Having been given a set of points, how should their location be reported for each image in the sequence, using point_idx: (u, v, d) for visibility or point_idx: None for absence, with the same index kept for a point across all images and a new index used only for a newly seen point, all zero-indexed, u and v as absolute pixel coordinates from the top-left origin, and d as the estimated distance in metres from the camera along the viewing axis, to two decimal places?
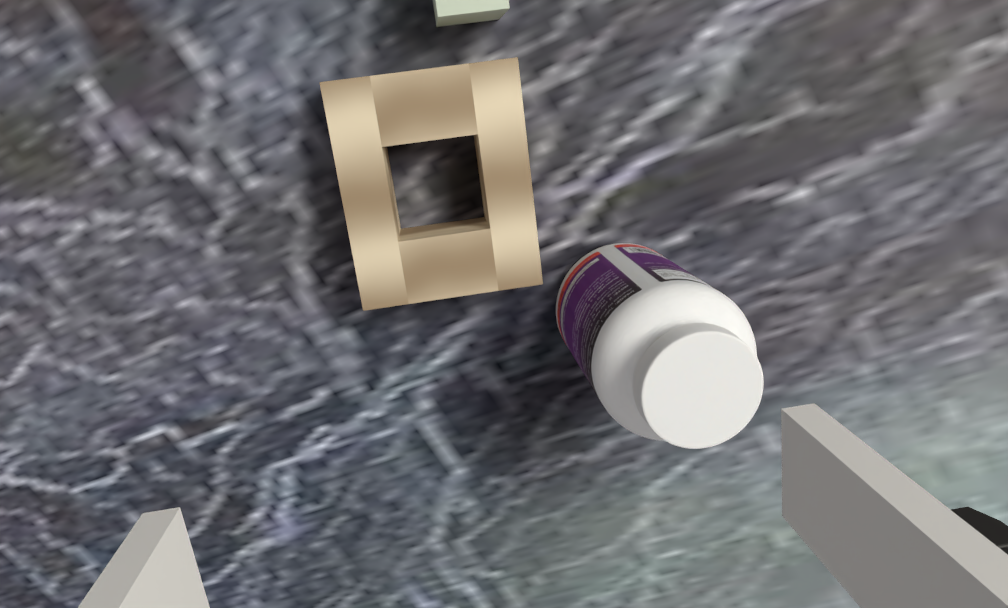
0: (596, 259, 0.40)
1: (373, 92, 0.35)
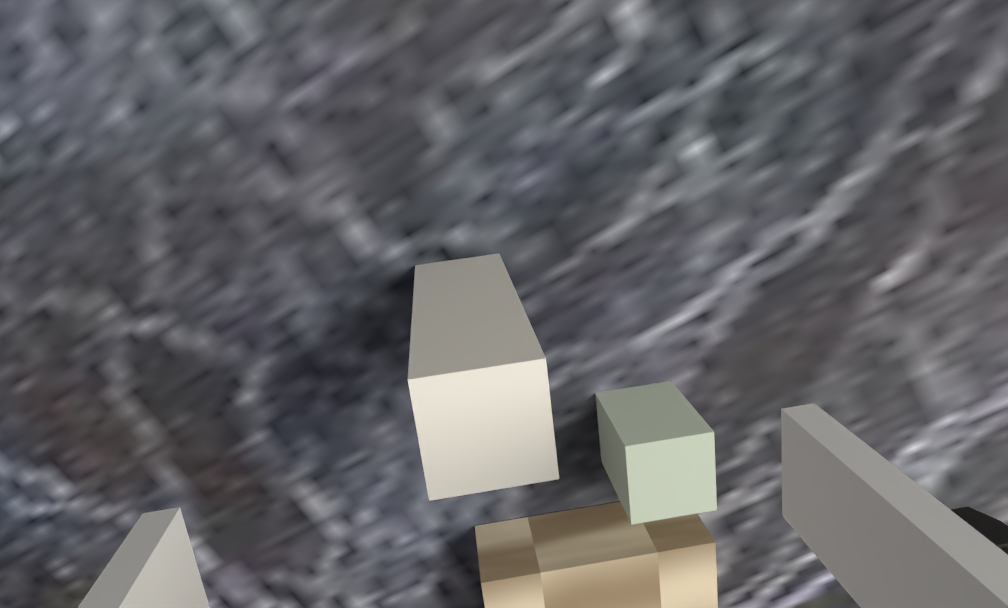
0: None
1: (543, 588, 0.29)
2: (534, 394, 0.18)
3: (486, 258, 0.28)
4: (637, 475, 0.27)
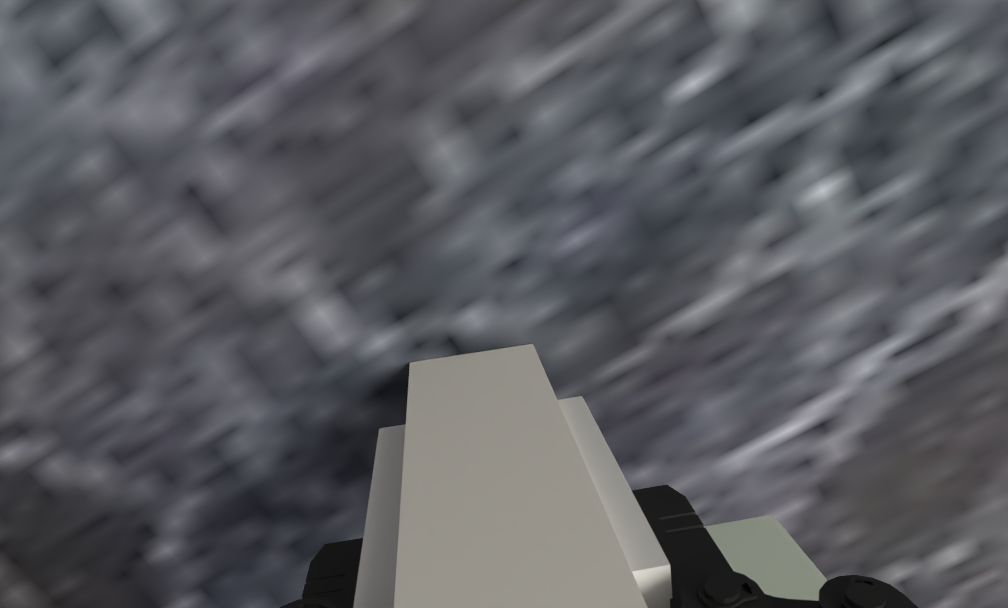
0: None
1: None
2: None
3: (515, 353, 0.19)
4: None
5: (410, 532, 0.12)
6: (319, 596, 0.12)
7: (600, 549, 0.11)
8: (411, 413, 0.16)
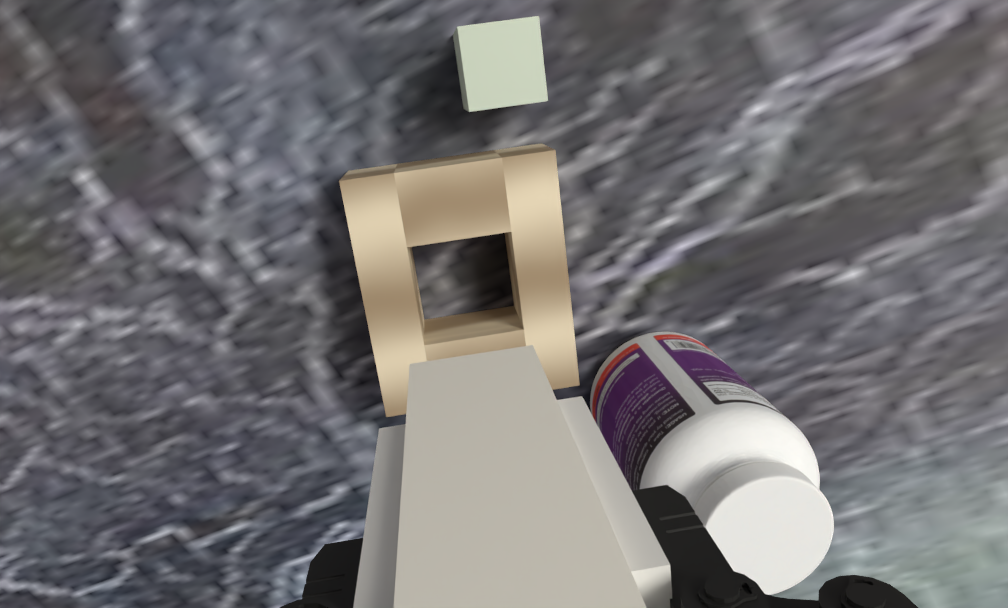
0: (636, 355, 0.37)
1: (397, 190, 0.32)
2: None
3: (515, 355, 0.19)
4: (471, 58, 0.30)
5: (410, 535, 0.12)
6: (319, 596, 0.12)
7: (600, 552, 0.11)
8: (411, 415, 0.16)
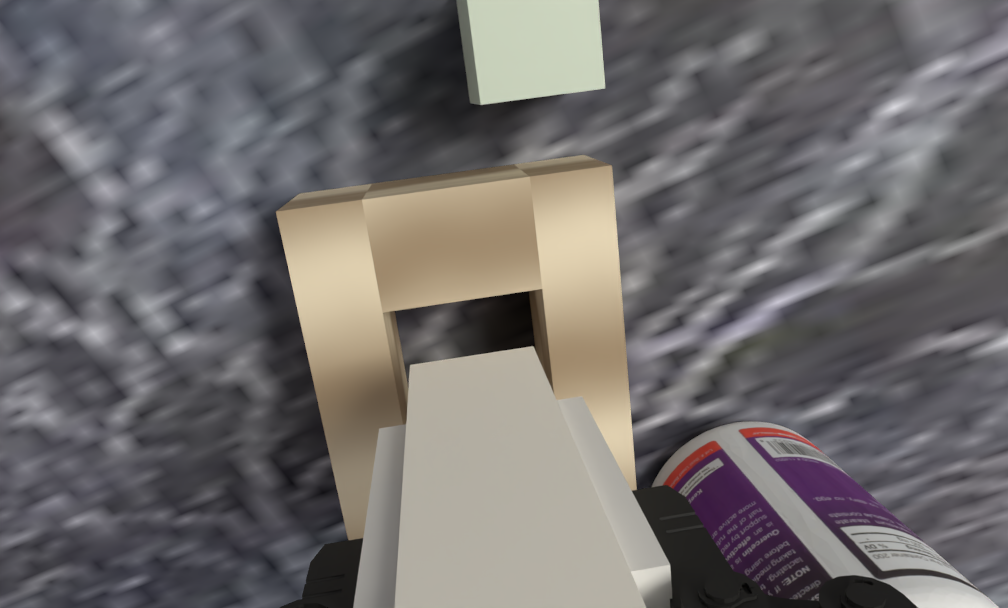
0: (718, 462, 0.26)
1: (368, 226, 0.21)
2: None
3: (515, 356, 0.19)
4: (484, 19, 0.19)
5: (410, 537, 0.12)
6: (319, 596, 0.12)
7: (601, 554, 0.11)
8: (411, 416, 0.16)
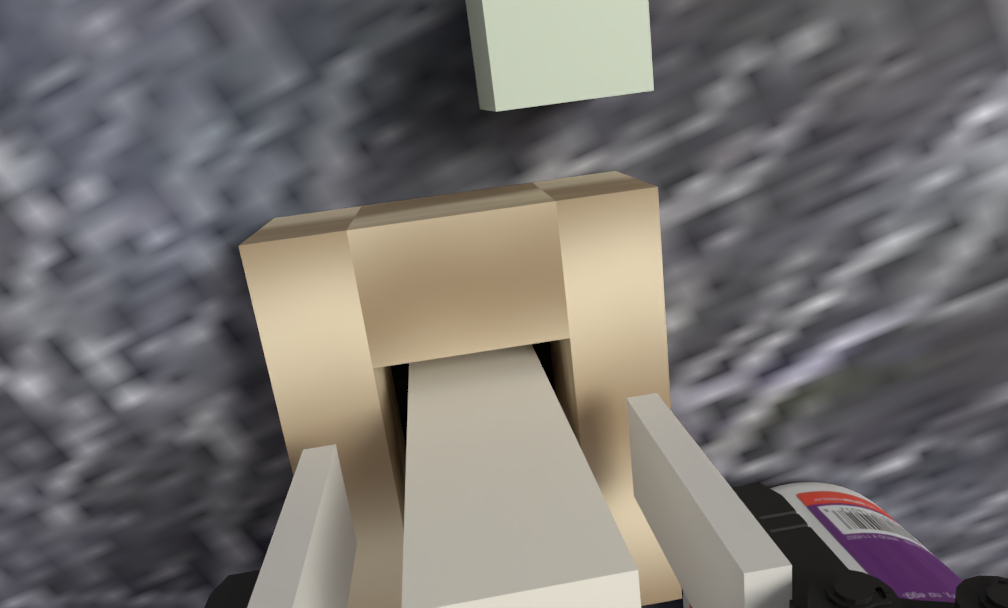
0: None
1: (354, 263, 0.17)
2: None
3: None
4: (501, 2, 0.15)
5: (415, 474, 0.14)
6: None
7: (578, 483, 0.13)
8: (413, 382, 0.18)
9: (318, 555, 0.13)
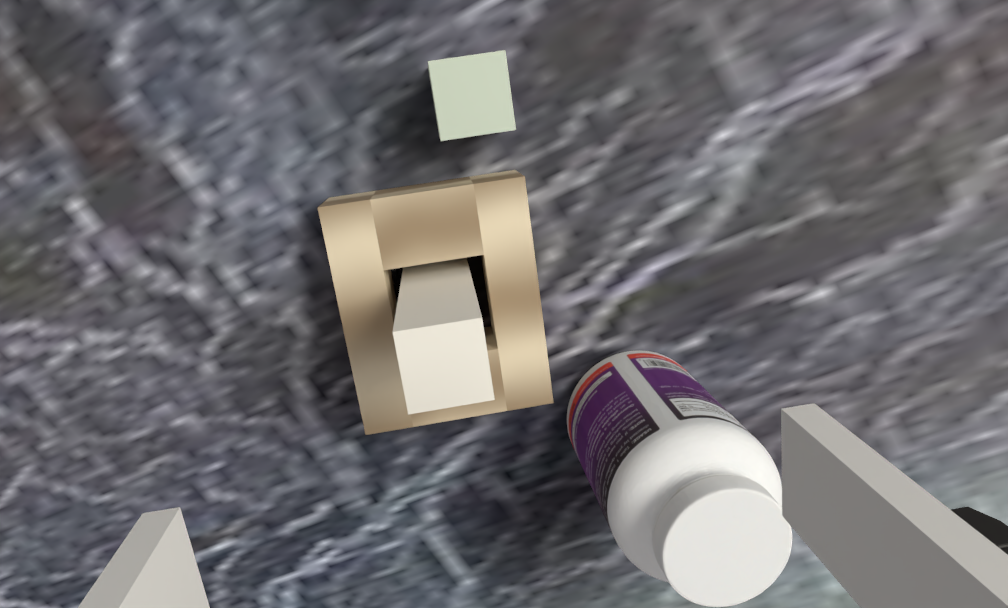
0: (609, 373, 0.38)
1: (374, 215, 0.34)
2: (475, 341, 0.27)
3: (456, 260, 0.38)
4: (441, 91, 0.32)
5: (401, 304, 0.31)
6: None
7: (470, 301, 0.30)
8: (403, 280, 0.35)
9: None
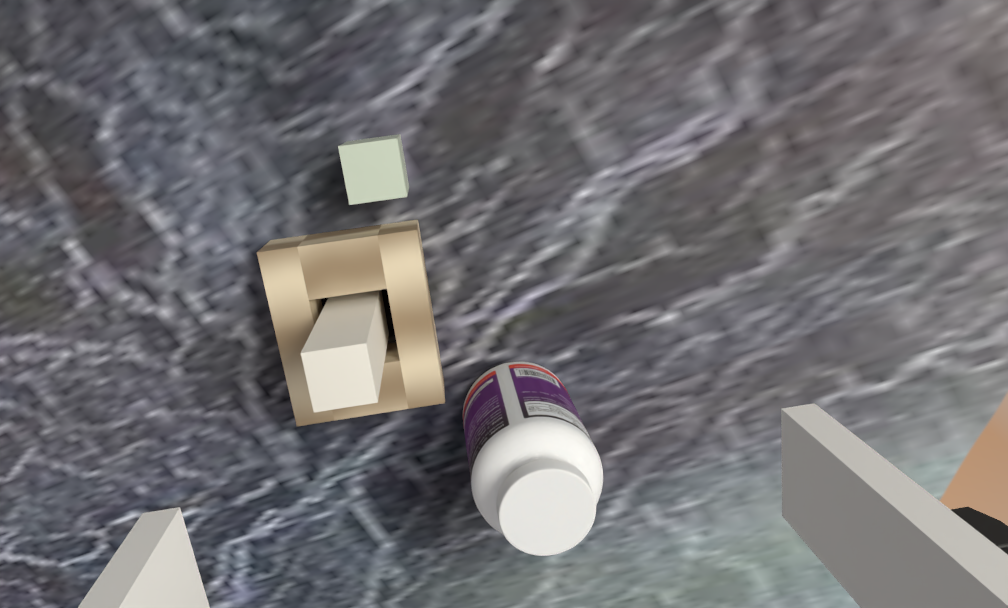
0: (491, 380, 0.49)
1: (300, 259, 0.44)
2: (362, 360, 0.38)
3: None
4: (349, 168, 0.42)
5: (315, 329, 0.41)
6: None
7: (364, 329, 0.40)
8: (325, 307, 0.46)
9: None
